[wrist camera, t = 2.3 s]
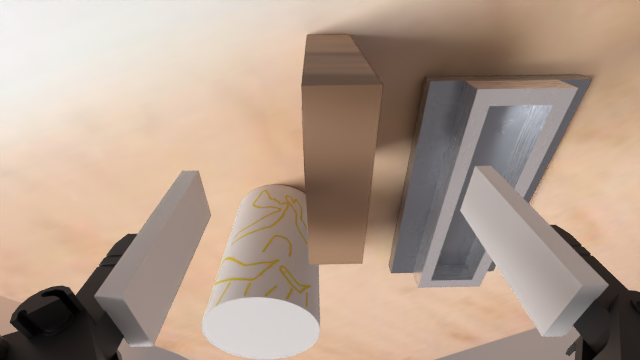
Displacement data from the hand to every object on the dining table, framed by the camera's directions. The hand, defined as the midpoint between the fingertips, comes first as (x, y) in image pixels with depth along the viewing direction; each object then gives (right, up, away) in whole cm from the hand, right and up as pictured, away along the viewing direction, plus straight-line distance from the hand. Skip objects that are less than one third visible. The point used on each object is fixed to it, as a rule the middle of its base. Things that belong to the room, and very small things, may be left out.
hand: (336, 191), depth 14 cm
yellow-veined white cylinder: (-5, -3, +16) cm, 17 cm away
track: (+13, 0, +14) cm, 20 cm away
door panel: (0, +7, +9) cm, 11 cm away
